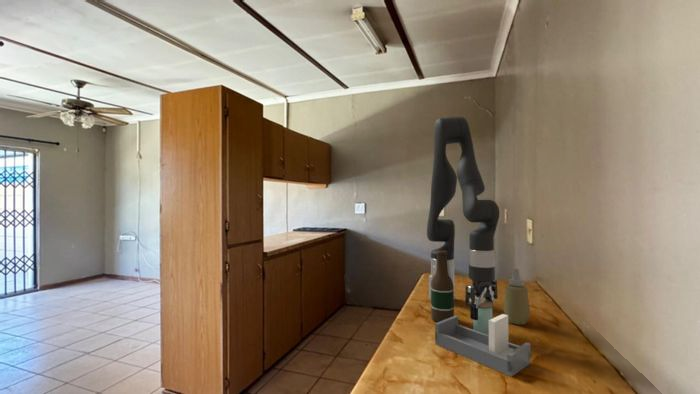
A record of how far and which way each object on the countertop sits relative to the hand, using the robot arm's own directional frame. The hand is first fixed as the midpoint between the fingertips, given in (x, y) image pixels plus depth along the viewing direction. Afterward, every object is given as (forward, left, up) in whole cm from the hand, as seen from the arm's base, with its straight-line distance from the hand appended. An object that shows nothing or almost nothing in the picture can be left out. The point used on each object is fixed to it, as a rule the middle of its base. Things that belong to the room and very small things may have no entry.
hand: (482, 316), depth 101 cm
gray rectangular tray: (+6, -11, -6) cm, 14 cm away
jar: (0, +1, -6) cm, 6 cm away
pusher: (+13, -11, -4) cm, 18 cm away
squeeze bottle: (+2, +19, -6) cm, 20 cm away
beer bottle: (-15, 0, -6) cm, 16 cm away
